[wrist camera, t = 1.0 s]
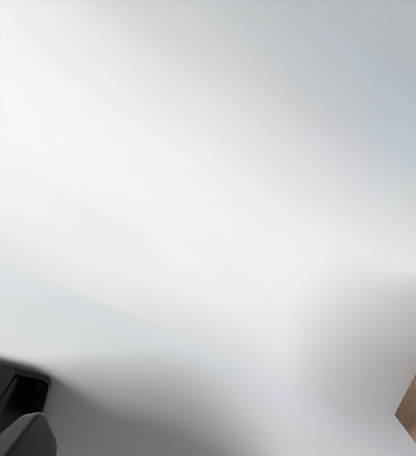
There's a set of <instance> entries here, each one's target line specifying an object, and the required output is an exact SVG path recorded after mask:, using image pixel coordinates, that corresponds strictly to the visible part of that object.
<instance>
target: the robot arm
mask: <svg viewBox="0 0 416 456" xmlns="http://www.w3.org/2000/svg"><path fill="white" fill-rule="evenodd" d="M38 383H41V384H43V385H44V386H40V385H39V384H38ZM50 386H51V381H50V379H49V378H48V377H47V376H45V375H41V374H36V373H31V372H27V371H22V370H18V369H13V368H8V367H4V366H0V456H56V452H57V443H56V439H55V437H54V435H53V432H52V430H51V428H50V426H49V423H48V421H47V419H46V417H45V415H44V414H43V413H44V409H45V406H46V402H47V398H48V394H49V390H50Z"/></svg>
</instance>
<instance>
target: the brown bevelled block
mask: <svg viewBox="0 0 416 456" xmlns="http://www.w3.org/2000/svg"><path fill="white" fill-rule="evenodd" d="M395 416H396V417H397V418H398V420H399V421H400V422H401V424H402V425H403V426H404V428H405V429H406V430H407V432H408V433H409V434H410V436H411V437H412V438H413V440H414V441H415V442H416V375H415V377H414V379H413V381H412V383H411V385H410V387H409V389H408V391H407V392H406V394H405V396H404V398H403V400H402V402H401V404H400V406H399V408H398V410H397V412H396V414H395Z"/></svg>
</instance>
